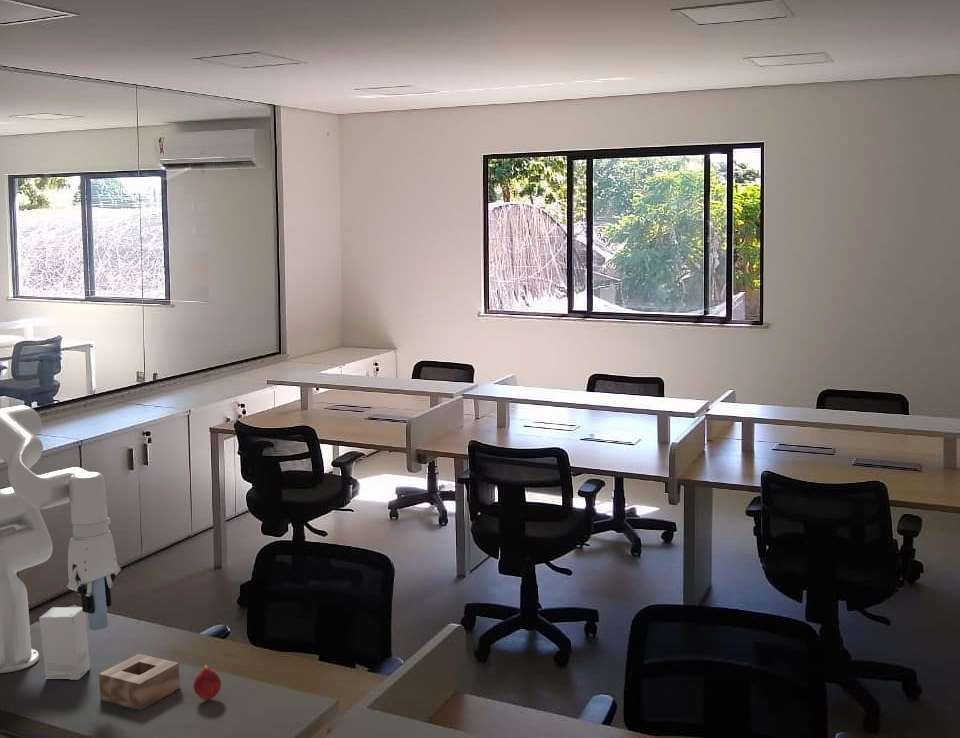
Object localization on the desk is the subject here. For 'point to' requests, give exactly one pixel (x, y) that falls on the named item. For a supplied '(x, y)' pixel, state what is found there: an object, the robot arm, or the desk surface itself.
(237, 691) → the desk surface
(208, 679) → the onion
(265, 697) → the desk surface
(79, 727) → the desk surface
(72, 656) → the skincare box
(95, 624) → the pin
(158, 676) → the bore block
